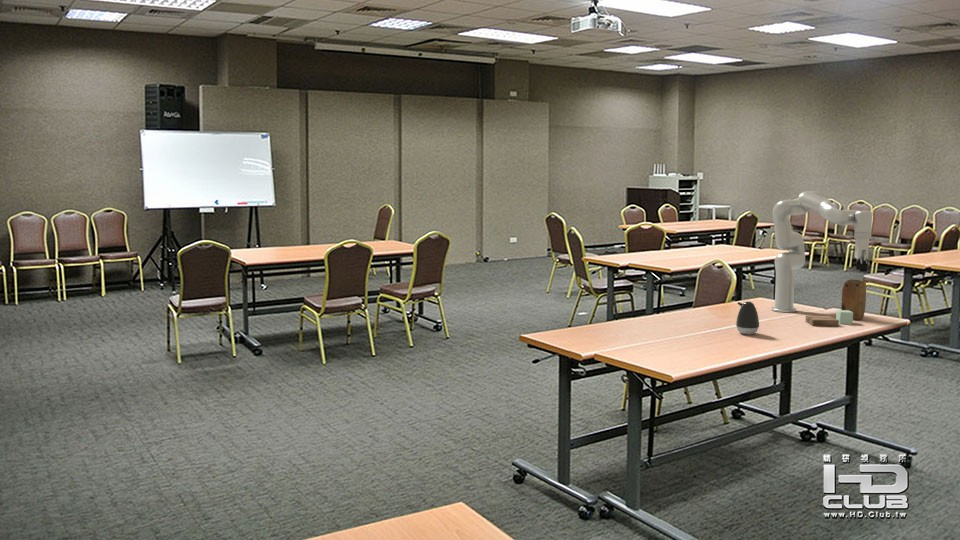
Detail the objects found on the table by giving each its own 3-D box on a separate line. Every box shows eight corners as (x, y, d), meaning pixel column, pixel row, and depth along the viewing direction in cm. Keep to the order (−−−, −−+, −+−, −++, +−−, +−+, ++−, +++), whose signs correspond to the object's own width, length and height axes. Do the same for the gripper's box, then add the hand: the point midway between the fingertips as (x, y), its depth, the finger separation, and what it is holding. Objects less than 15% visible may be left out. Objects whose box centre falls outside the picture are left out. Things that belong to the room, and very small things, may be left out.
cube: (835, 321, 400) (836, 310, 399) (848, 322, 399) (848, 310, 398) (839, 324, 394) (840, 312, 393) (852, 324, 393) (853, 312, 392)
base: (805, 321, 400) (805, 315, 400) (830, 321, 399) (830, 315, 399) (812, 326, 388) (813, 319, 388) (838, 326, 387) (838, 320, 387)
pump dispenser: (741, 330, 378) (743, 299, 377) (762, 333, 371) (764, 301, 369) (731, 333, 371) (732, 301, 369) (752, 336, 364) (753, 304, 362)
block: (866, 319, 406) (868, 280, 404) (859, 321, 401) (862, 281, 398) (844, 316, 414) (846, 278, 411) (838, 318, 409) (840, 279, 406)
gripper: (851, 234, 399) (850, 268, 401) (857, 236, 383) (856, 272, 384) (867, 234, 397) (866, 268, 399) (874, 236, 381) (873, 272, 382)
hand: (861, 270), depth 392 cm, fingers open, 9 cm apart
